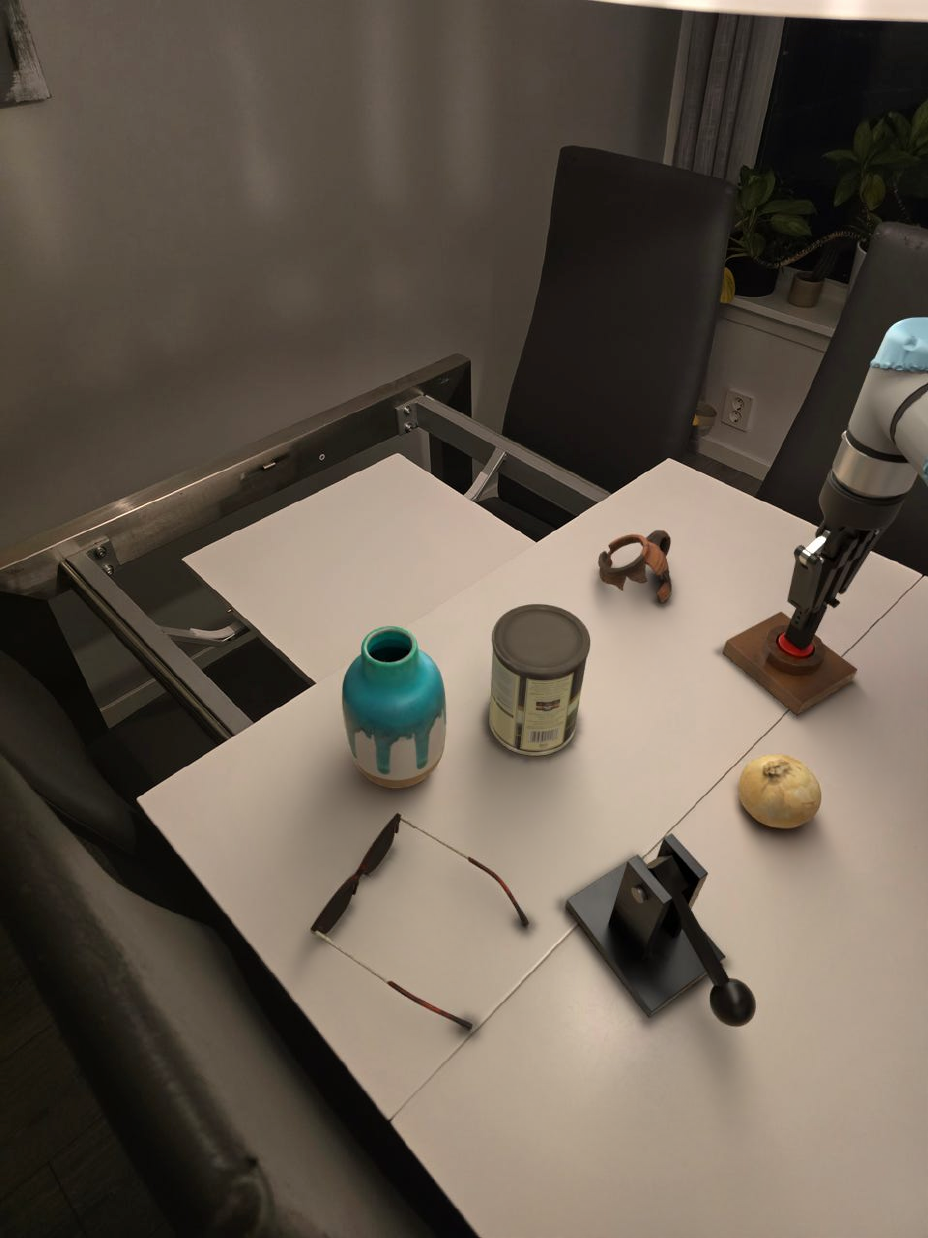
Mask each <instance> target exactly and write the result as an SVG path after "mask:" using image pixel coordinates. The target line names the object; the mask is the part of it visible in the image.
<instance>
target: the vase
mask: <svg viewBox="0 0 928 1238" xmlns="http://www.w3.org/2000/svg"><path fill="white" fill-rule="evenodd" d="M341 688H342V689H341V707H342V716H343V723H344V724H343V725H344V730H345V735H346V740H347V744H348V747H349V750H350V753H351V757H352V758H353V761H354V763H355V765H356V767H357V768H358V769H359V771H360V773H362V775H364V776H365V777H366V778H367V779H368V780H369V781H371V782H373V783H375V784H377V785H379V786H382V787H386V788H390V789H391V788H392V789H401V788H402V789H403V788H408V787H411V786H414V785H417V784H419V783H420V782H422V781H424V780H425V779H427V778H428V777H429V776H430V775H431V774H432V773H433V772H434V770H435V769H436V768H437V767H438V765H439V763H440V761H441V759H442V756H443V753H444V750H445V744H446V736H447V723H448V721H447V700H446V689H445V684H444V680H443V676H442V673H441V670H440V668H439V666H438V665H437V663H436V662H435V661H434V659H433V658H432V657H431V656H430V655H429V654H427V653H426V651H424V650H422V649H420V648H419V645H418V641H417V639H416V636H415V635H414V634H413V633H412V632H410V631H409V630H407V629H405V628H404V627H401V626H392V625H387V626H382V627H378V628H376V629H373V630H372V631H370V632H369V633H367V634H366V636H365V637H364V638H363V640H362V642H361V647H360V653H359V655H358V656H357V657H356V658H355V659H354V660H353V661H352V662H351V663H350V665H349V666H348V668H347V669H346V671H345V674H344V676H343V680H342V687H341Z"/></svg>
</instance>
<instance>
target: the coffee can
mask: <svg viewBox="0 0 928 1238" xmlns="http://www.w3.org/2000/svg"><path fill="white" fill-rule="evenodd" d="M491 645H492V653H491V656H492V657H491V678H490V679H491V680H490V681H491V682H490V705H489V714H488V722H489V723H488V724H489V728H490V731H491V732H492V735H493V736H494V737H495V739H496V740H497V741H498V743H500V744H501V745H503V746H504V747H505V748H507V749H508V750H510V751H512V752H514V753H517V754H519V755H524V756H529V757H530V756H531V757H537V756H539V757H540V756H547V755H550V754H553V753H556V752H558V751H560V750H561V749H563V748H564V747H566V746H567V745H568V744H569V743H570V741H571V740H572V739H573V737H574V735H575V732H576V728H577V717H578V711H579V706H580V699H581V694H582V687H583V682H584V676H585V671H586V664H587V659H588V656H589V653H590V649H591V635H590V632H589V630H588V628H587V627H586V625H585V624H584V622H583V621H582V620H581V619H580V618H578V617H577V616H576V615H575V614H573V613H572V612H570V611H568V610H566V609H564V608H562V607H559V606H556V605H551V604H543V603H530V604H524V605H520V606H517V607H515V608H512V609H510V610H508V611H506V612H504V614H502V615H501V616H500V617H499V618H498V619H497V621H496V622H495V624H494V625H493V629H492V632H491Z"/></svg>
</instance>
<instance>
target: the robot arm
mask: <svg viewBox="0 0 928 1238" xmlns="http://www.w3.org/2000/svg"><path fill="white" fill-rule="evenodd" d="M840 438H841V439H842V440H841V442H840V445H839V448H838V449H837V452H836V454H835V458H834V460H833V462H832V468H831V469H830V470H829V471H828V473H827V476H826V478H825V481H824V484H823V485H822V488H821V491H820V493H819V496H818V504H819V507H820V509H821V511H822V514H823V520H822V521H821V523H820V524H819V526H818V527H817V528H816V531H815V532H814V533H815V534H814V537H815V538H814V540H813V541H812V542H811V543H810V544H809V545H808V546H804V545H802V544H799V545H797V546H796V548H795V549H794V550H793V556H794V557H793V558H794V560H795V561H794V566H793V571H792V575H791V576H792V577H791V581H790V585H789V590H788V594H787V600H786V602H787V603H789V604H790V605H791V606H792V607H794V612H793V614H792V616H791V621H790V623H789V626H788V628H787V630H786V633H785V635H784V637H785V638H786V639H787V640H789V641H790V642H791V643H792V644H794V645H795V646H796V647H797V648H799V649H800V650H803V649H805V648H807V647H808V646H810V644H811V642H812V640H813V637H814V635H816V633H817V631H818V630H819V627H820V625H821V623H822V620H823V619H824V616H825V614H826V613H827V609H828V605H829V606H830V607H831V608H833V609H836V608H837V607H838V606H839V605H840V604H841V601H840V600H839V599H837V596H838V594H839V595H843V594H845V593H846V592H847V590H848V588H849V587H850V585H851V584H852V582H853V580H854V579H855V577H856V575H857V574H858V572H859V571H860V569H861V568H862V566H863V564H864V563H865V561H866V560H867V558H868V556H869V555H870V553H871V552H872V550H873V548H874V547H875V545H876V543H877V542H878V540H879V539H880V538H881V536H882V535H883V534H884V533H885V532H886V530H887V529H888V528H889V527H890V525H891V524H892V523H893V522H894V521H895V519H896V518H897V516H898V515H899V511H900V510H901V507H902V506H903V504H904V501H905V500H906V497H907V495H908V492H909V491H910V489H911V488H912V487H913V485H914V482H915V481H916V479H917V476H918V475H919V476H920V478H921V479H922V481H923V482H924V483H925V484H926V486H927V488H928V317H924V316H923V317H909V318H905V319H902V320H900V321H898V322H896V323H894V324H893V325H891V326H890V327H889V329H888V330H887V331H886V333H885V335H884V337H883V340H882V342H881V344H880V346H879V348H878V350H877V353H876V354H875V357H874V358H873V359H872V360H871V361H870V367H869V369H868V372H867V374H866V376H865V380H864V382H863V385H862V388H861V389H860V392H859V395H858V397H857V401H856V403H855V406H854V407H853V411H852V414H851V416H850V419H849V421H848V425H847V428H846V430H845V431H844V432H842V434H841V437H840Z"/></svg>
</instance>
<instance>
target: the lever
mask: <svg viewBox="0 0 928 1238" xmlns="http://www.w3.org/2000/svg"><path fill="white" fill-rule="evenodd" d="M646 864H647V865H645V866H646V868H647V869H648V870H649V871H650V872H651V873H652V875H653V876H654V877H655V878H656V879H657V880H658V882H659V883H660V884H661V885H662V886H663V887H664V889H665V890H666V891H667V892H668V893H669V894H670V896H671V897H672V900H671V903H670V907H671V909H672V910H673V912H674V914H675V916H676V918H677V920H678V921H679V923H680V925H681V927H682V929H683V930H684V932H685V934H686V936H687V938H688V940H689V941H690V943H691V945H692V947H693V949H694V950H695V952H696V954H697V956H698V958H699V960H700V961H701V963H702V965H703V967H704V969H705V970H706V972H707V974H706V975H707V976H708V978H709V980H710V981H711V983H712V985H713V986H712V987H711V990H710V992H709V1007H710V1008H711V1012H712V1013H713V1015H714V1017H715V1018H717V1020H718V1021H720V1022H721V1024H724V1025H726V1026H728V1027H732V1028H738V1027H739V1028H740V1027H744V1026H746V1025H747V1024H749V1023H750V1022H751V1021H752V1020H753V1018H754V1017H755V1014H756V1010H757V1002H756V998H755V995H754V993H753V990H752V989H751V988H750V987H749V986H748V984H746V983H745V982H743V980H740V979H738V978H734V977H729V976H728V974H727V972H726V970H725V968H724V966H723V964H722V963H720V961H719V959H718V957H717V956H716V954H715V952H714V950H713V948H712V947H711V945H710V943H709V941H708V939H707V938H706V936H705V934H704V932H705V931H704V929H703V928H702V927H701V925H700V923H699V922H698V920H697V917H696V916H695V914H694V912H693V910H692V909H690V907H689V905H688V903H687V902H686V900H685V898H684V896H683V894H682V893H681V891H683V890H684V889H686V888H687V887H689V885H688V883H687V881H686V880H685V878H684V876H683V874H682V872H681V871H680V869H679V867H678V865H677V863H676V862H675V860H674V858H673V856H672V855H671V856H662V857H657V856H656V858H654V859H652V860H651V861H649V862H648V863H646ZM701 928H702V929H703V930H702V929H701ZM703 931H704V932H703Z"/></svg>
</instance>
